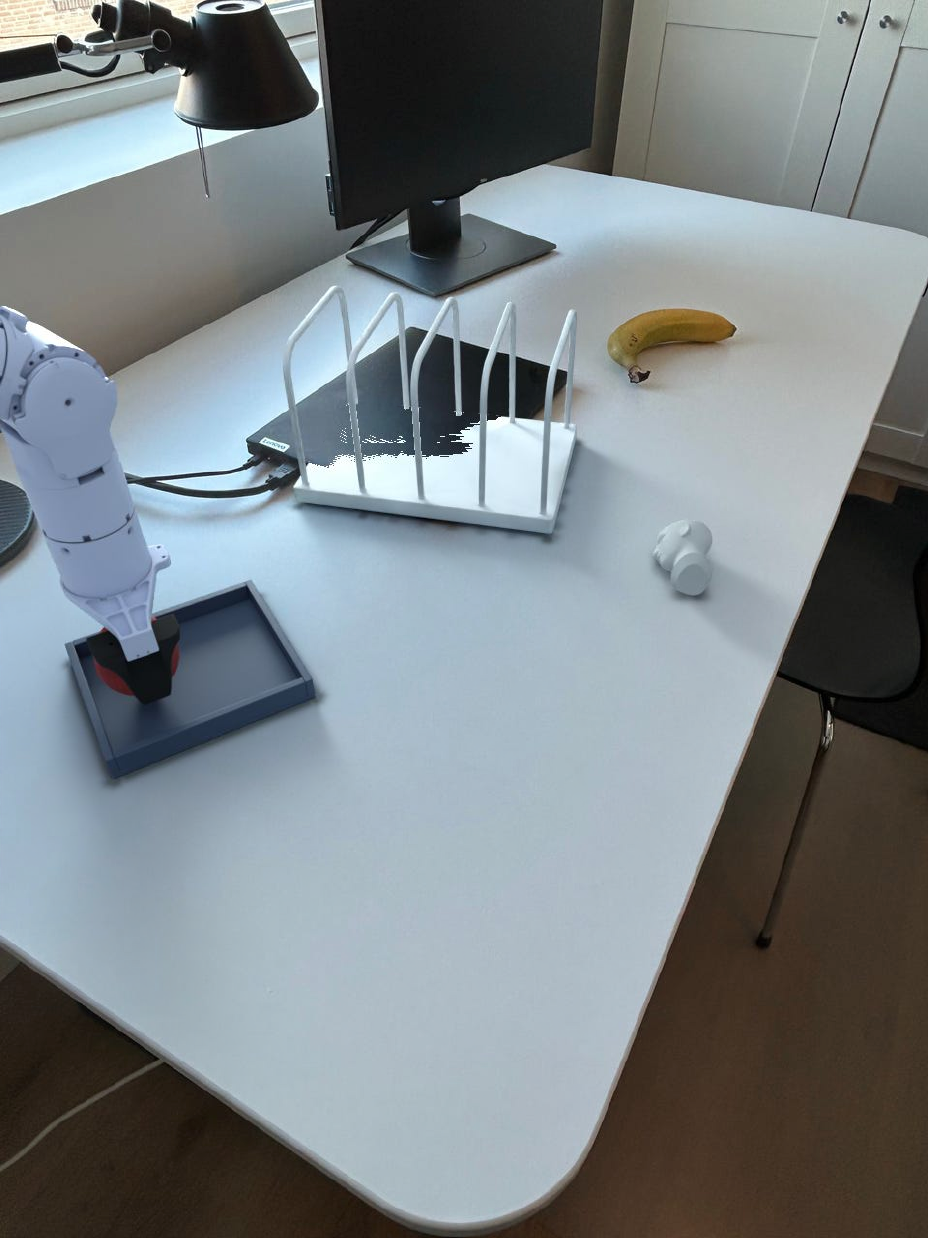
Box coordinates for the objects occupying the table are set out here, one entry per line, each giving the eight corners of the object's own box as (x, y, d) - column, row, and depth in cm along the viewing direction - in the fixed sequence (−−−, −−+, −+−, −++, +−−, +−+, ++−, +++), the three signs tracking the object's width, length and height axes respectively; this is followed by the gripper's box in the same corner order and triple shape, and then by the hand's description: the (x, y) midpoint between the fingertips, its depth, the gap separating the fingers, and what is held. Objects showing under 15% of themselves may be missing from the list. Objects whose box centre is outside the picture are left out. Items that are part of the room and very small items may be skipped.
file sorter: (576, 439, 93) (590, 295, 82) (551, 539, 81) (564, 383, 70) (350, 413, 97) (336, 272, 86) (294, 504, 85) (268, 352, 74)
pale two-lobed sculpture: (658, 551, 81) (715, 543, 79) (654, 607, 75) (716, 600, 73) (650, 512, 78) (708, 504, 77) (645, 567, 73) (709, 559, 71)
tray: (113, 779, 61) (105, 761, 60) (72, 661, 69) (64, 643, 68) (316, 696, 67) (312, 678, 65) (255, 596, 75) (251, 578, 74)
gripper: (184, 558, 52) (227, 708, 62) (122, 445, 62) (167, 590, 71) (62, 598, 50) (126, 748, 59) (16, 473, 59) (78, 621, 68)
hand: (142, 665), depth 65 cm, fingers open, 7 cm apart
